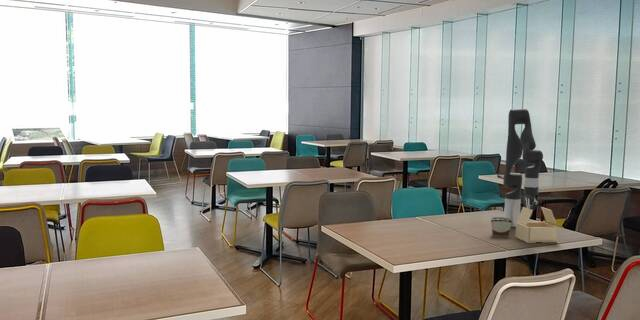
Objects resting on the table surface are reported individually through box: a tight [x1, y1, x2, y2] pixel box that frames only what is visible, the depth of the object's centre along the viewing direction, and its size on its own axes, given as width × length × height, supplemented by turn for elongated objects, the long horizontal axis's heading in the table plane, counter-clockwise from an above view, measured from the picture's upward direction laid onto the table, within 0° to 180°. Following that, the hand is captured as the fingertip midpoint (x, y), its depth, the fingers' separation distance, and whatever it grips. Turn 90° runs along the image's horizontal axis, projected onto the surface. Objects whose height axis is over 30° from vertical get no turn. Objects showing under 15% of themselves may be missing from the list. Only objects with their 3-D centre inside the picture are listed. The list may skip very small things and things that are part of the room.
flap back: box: [540, 206, 557, 226], centre depth 293 cm, size 10×1×9 cm, turn 8°
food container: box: [490, 216, 513, 237], centre depth 303 cm, size 12×6×10 cm, turn 84°
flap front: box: [517, 206, 534, 225], centre depth 291 cm, size 10×1×9 cm, turn 8°
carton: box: [514, 221, 559, 244], centre depth 293 cm, size 15×17×8 cm
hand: (529, 216), depth 292 cm, fingers closed
